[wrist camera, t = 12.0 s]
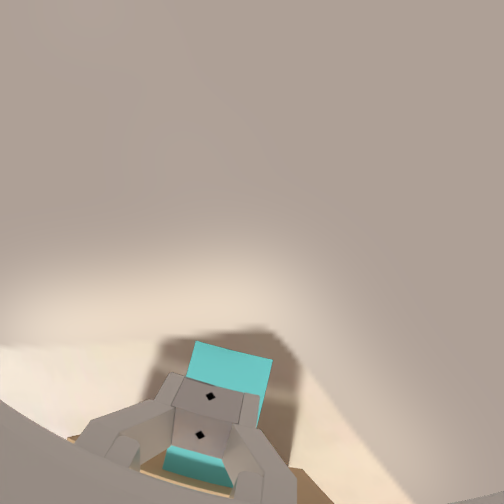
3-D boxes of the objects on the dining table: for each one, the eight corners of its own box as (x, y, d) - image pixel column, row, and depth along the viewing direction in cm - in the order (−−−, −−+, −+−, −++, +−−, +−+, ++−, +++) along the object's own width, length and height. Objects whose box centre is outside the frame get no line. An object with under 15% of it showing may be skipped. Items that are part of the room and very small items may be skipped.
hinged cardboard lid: (65, 445, 15) (102, 308, 19) (122, 429, 25) (147, 337, 29) (336, 516, 14) (371, 374, 18) (300, 474, 24) (323, 381, 28)
